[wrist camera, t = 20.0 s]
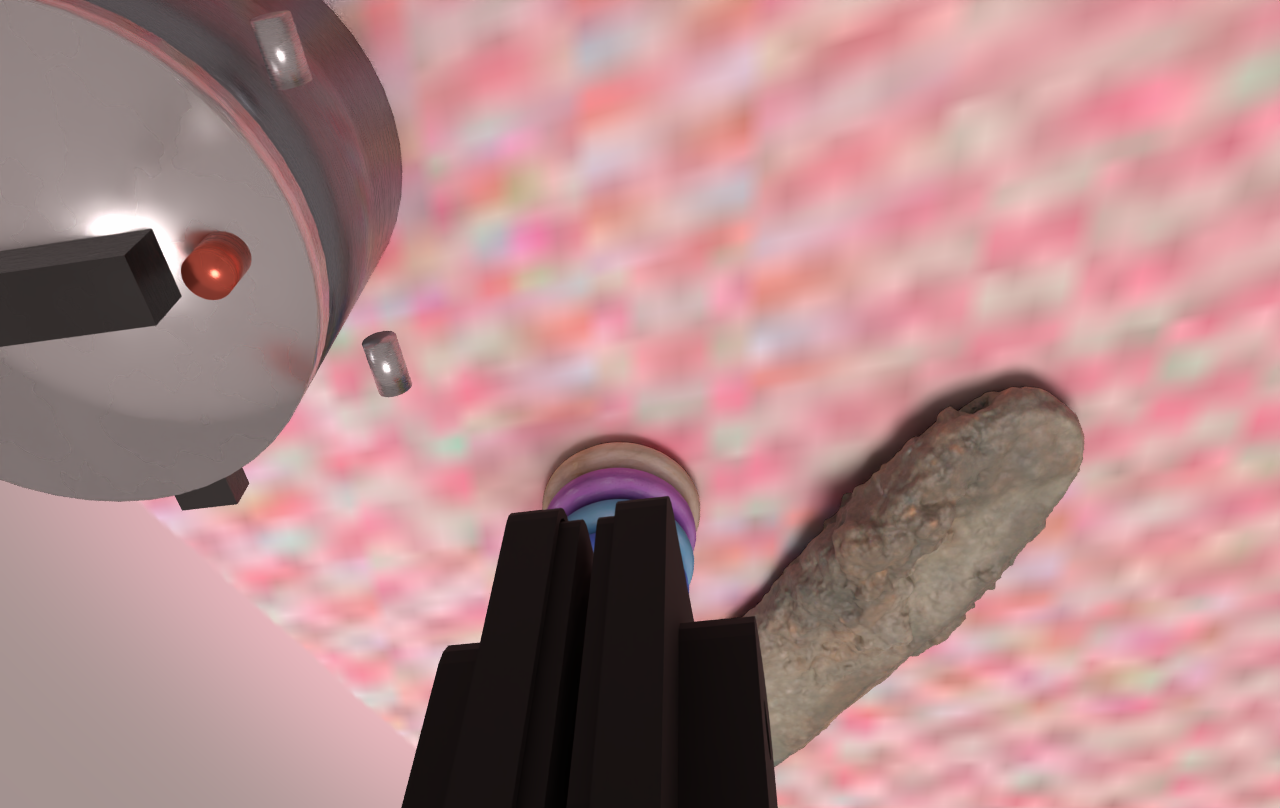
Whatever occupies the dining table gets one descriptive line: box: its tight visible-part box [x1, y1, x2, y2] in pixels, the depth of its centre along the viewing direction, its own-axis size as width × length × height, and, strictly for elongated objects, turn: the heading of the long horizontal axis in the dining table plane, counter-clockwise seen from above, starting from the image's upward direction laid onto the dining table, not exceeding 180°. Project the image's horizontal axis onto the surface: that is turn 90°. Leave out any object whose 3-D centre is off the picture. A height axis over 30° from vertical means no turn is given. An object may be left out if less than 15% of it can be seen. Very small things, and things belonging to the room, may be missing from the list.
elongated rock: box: [743, 386, 1084, 767], centre depth 57 cm, size 35×5×10 cm
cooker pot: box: [85, 0, 412, 510], centre depth 40 cm, size 24×19×12 cm
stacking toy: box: [543, 442, 700, 593], centre depth 47 cm, size 8×8×19 cm
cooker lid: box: [0, 0, 329, 502], centre depth 35 cm, size 18×18×4 cm
